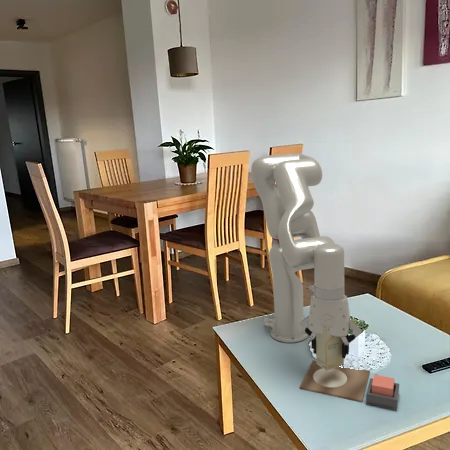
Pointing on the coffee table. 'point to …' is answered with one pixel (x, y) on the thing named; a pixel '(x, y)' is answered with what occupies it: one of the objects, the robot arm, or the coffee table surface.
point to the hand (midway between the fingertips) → (330, 353)
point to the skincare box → (328, 350)
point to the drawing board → (336, 382)
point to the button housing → (382, 398)
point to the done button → (383, 385)
